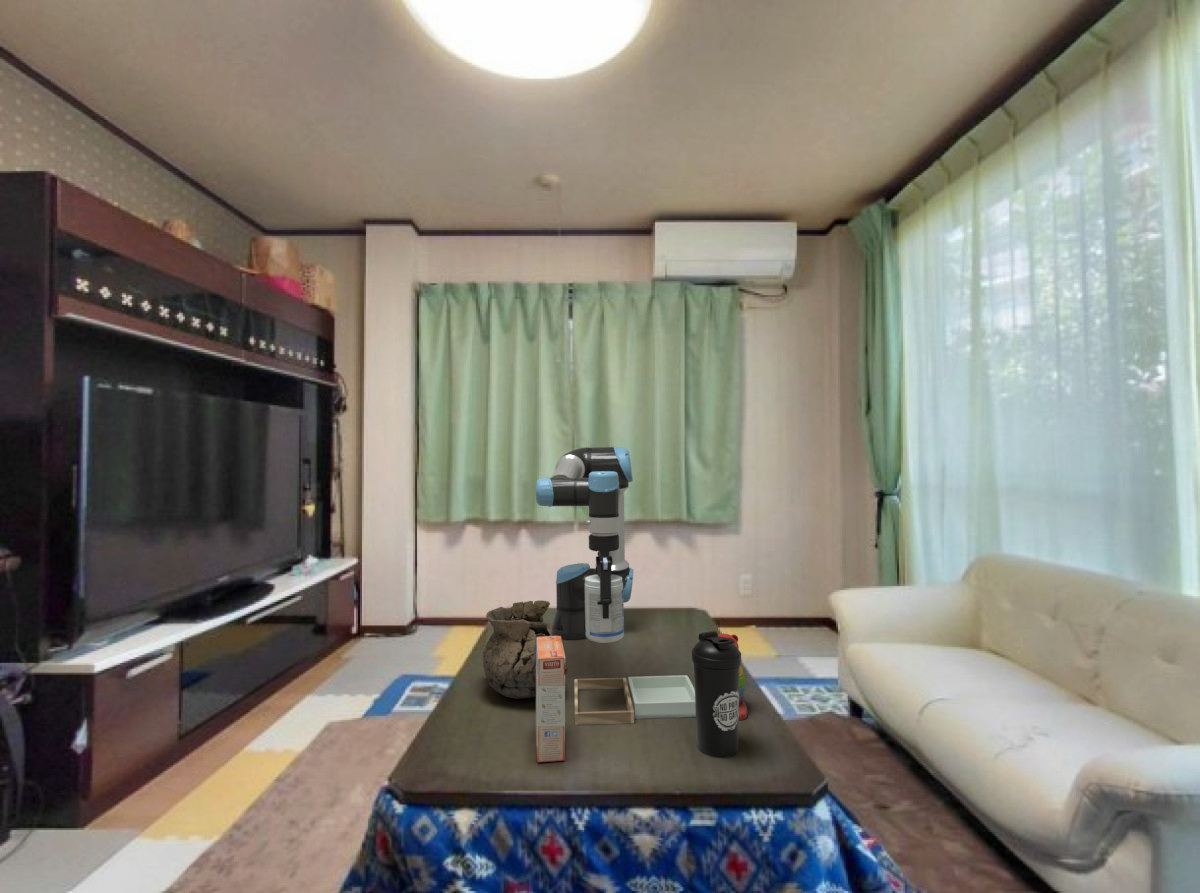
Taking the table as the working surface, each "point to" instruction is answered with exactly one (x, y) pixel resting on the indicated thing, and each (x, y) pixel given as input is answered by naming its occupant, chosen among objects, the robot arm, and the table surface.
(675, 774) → the table surface
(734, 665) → the water bottle
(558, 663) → the cracker box
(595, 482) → the robot arm
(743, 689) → the stacking bear
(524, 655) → the clay pot
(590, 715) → the oak frame
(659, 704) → the pale mint square tray
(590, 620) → the supplement tub
